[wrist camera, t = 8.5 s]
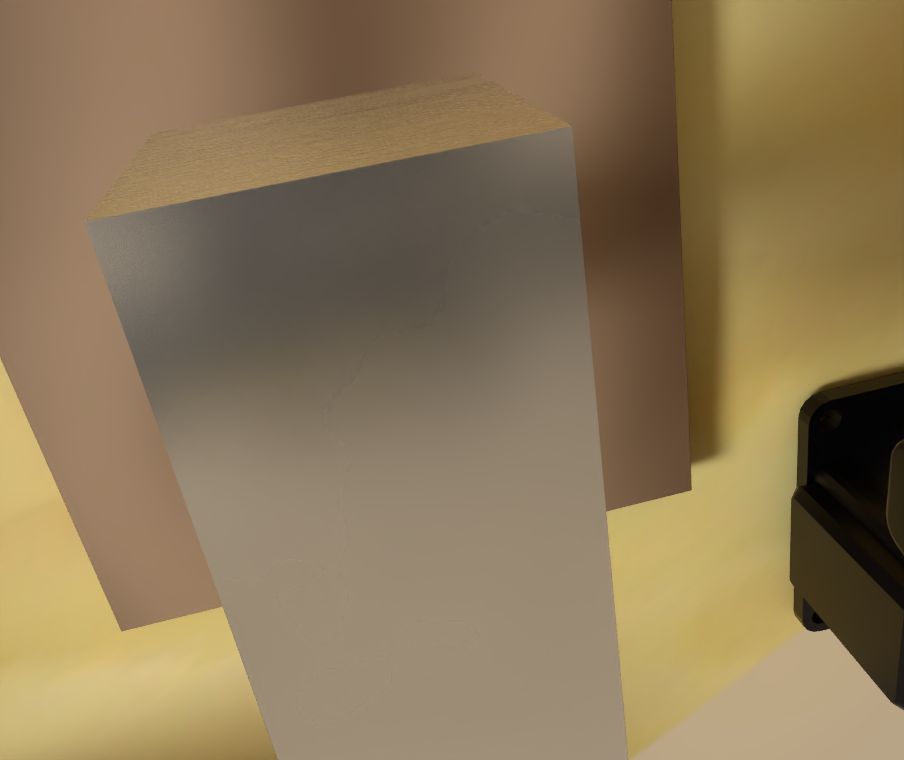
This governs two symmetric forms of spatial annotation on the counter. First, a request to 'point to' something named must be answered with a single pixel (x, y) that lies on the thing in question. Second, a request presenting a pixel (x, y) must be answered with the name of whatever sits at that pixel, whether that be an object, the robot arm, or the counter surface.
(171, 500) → the walnut board
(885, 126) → the counter surface
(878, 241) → the counter surface
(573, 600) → the t key
